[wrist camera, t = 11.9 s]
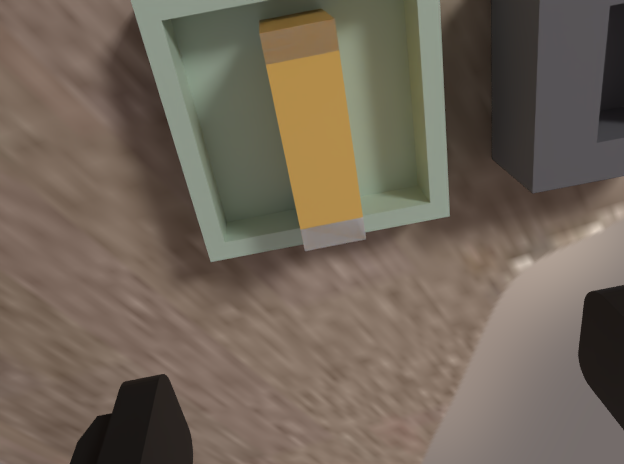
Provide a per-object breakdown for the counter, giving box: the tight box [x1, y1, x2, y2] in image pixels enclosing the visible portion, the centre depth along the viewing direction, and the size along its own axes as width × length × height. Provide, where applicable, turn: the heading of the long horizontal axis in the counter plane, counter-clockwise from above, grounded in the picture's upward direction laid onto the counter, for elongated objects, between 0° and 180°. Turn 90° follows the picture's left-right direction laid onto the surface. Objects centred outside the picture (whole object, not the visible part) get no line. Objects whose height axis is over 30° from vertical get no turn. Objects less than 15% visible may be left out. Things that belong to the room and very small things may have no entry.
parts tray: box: [131, 0, 450, 262], centre depth 26 cm, size 13×13×3 cm
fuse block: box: [491, 0, 624, 193], centre depth 25 cm, size 10×10×5 cm
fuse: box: [259, 8, 366, 251], centre depth 25 cm, size 3×5×10 cm
